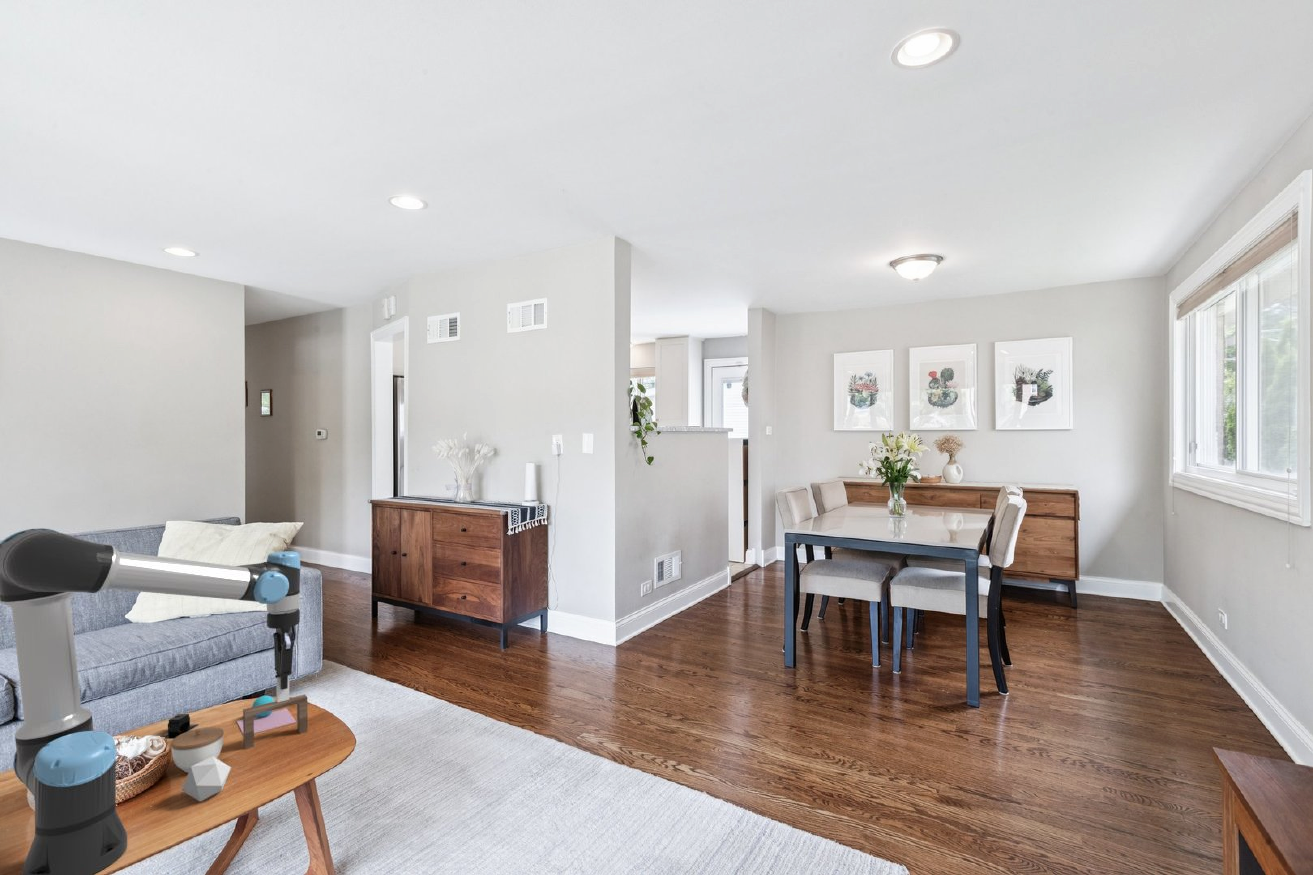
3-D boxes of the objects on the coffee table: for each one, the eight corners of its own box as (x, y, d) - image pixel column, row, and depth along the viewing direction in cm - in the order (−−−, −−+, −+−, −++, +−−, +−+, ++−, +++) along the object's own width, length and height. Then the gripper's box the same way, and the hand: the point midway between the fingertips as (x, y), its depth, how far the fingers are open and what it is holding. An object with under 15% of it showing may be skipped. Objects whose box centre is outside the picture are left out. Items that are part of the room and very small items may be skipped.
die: (230, 799, 146) (241, 754, 151) (193, 796, 139) (206, 749, 145) (207, 806, 148) (218, 761, 154) (169, 804, 142) (182, 757, 147)
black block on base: (182, 723, 187) (182, 707, 187) (209, 723, 187) (208, 706, 187) (147, 744, 174) (147, 727, 174) (175, 744, 174) (175, 726, 174)
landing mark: (244, 736, 176) (244, 735, 176) (236, 721, 186) (236, 720, 186) (296, 722, 185) (296, 721, 185) (286, 708, 195) (286, 708, 195)
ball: (250, 719, 189) (256, 720, 185) (248, 699, 190) (253, 699, 186) (273, 712, 193) (279, 713, 189) (271, 692, 194) (276, 692, 190)
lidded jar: (172, 782, 152) (172, 743, 153) (170, 765, 161) (170, 728, 161) (225, 767, 159) (225, 730, 159) (221, 751, 168) (221, 716, 168)
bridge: (307, 731, 179) (307, 697, 179) (245, 748, 169) (244, 712, 169) (305, 727, 181) (304, 694, 181) (243, 744, 171) (243, 709, 171)
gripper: (305, 612, 165) (304, 703, 164) (294, 603, 174) (293, 689, 174) (272, 617, 160) (271, 711, 159) (262, 608, 169) (261, 696, 169)
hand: (282, 699), depth 166 cm, fingers closed
